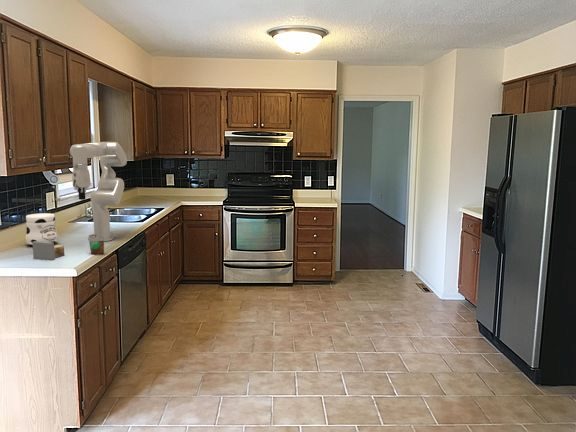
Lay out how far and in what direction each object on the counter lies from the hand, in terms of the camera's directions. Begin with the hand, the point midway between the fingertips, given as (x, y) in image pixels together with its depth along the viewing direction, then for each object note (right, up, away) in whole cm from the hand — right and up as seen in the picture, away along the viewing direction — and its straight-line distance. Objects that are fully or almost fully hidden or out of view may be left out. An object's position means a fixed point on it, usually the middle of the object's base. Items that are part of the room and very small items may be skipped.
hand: (82, 199), depth 272 cm
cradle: (-10, -32, -14) cm, 36 cm away
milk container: (-30, -27, +14) cm, 43 cm away
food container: (+10, -31, -6) cm, 33 cm away
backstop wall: (-11, -32, -20) cm, 40 cm away
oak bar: (-9, -32, -13) cm, 36 cm away
